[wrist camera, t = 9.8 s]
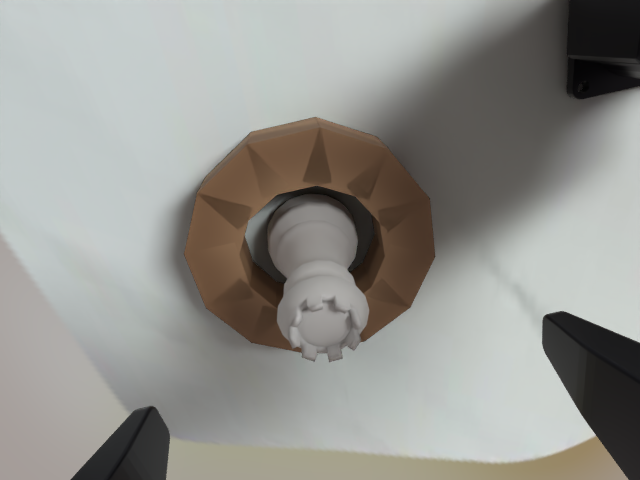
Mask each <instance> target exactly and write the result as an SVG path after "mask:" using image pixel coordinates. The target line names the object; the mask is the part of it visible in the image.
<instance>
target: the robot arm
mask: <svg viewBox="0 0 640 480" xmlns="http://www.w3.org/2000/svg"><path fill="white" fill-rule="evenodd" d="M567 55H568V56H569V60H568V77H567V93H568V95H569V96H570V97H572V98H576V99H585V98H589V97H594V96H598V95H602V94H607V93H611V92H615V91H620V90H624V89H628V88H633V87H637V86H640V0H570V5H569V23H568V41H567ZM582 82H583V88H582V90H581V91H579V92H578V87H579V85H580V83H582ZM542 345H543V349H544V351H545V353H546V355H547V357H548V359H549V360H550V362H551V364H552V366H553V367H554V369H555V371H556V372H557V374H558V376H559V378H560V379H561V381H562V383H563V384H564V386H565V388H566V390H567V391H568V393H569V395H570V396H571V398H572V400H573V401H574V403H575V405H576V407H577V408H578V410H579V411H580V413H581V415H582V416H583V418H584V419H585V420H586V422H587V423H588V425H589V426H590V427H591V429H592V430H593V432H594V433H595V434H596V436H597V437H598V438H599V440H600V441H601V442H602V444H603V445H604V447H605V448H606V449H607V451H608V452H609V453H610V455H611V456H612V457H613V459H614V460H615V461H616V463H617V464H618V466H619V467H620V468H621V470H622V471H623V472H624V474H625V475H626V477H627V478H628V479H629V480H640V343H639V342H637V341H634V340H632V339H630V338H627V337H625V336H622V335H620V334H618V333H615V332H613V331H610V330H608V329H606V328H603V327H601V326H598V325H596V324H594V323H591V322H589V321H586V320H584V319H582V318H579V317H577V316H574V315H572V314H570V313H567V312H564V311H559V312H555V313H550V314H547V315H545V316H544V317H543V325H542ZM169 441H170V434H169V430H168V428H167V426H166V424H165V422H164V421H163V419H162V417H161V416H160V414H159V412H158V410H157V409H156V408H155V407H153V406H148V407H144V408H140V409H137V410H135V411H134V412H133V413H132V414H131V415H130V416H129V417H128V418H127V419H126V420H125V421H124V422H123V423H122V424H121V425H120V427H119V428H118V429H117V430H116V431H115V432H114V433H113V434H112V435H111V436H110V437H109V438H108V440H107V441H106V442H105V443H104V444H103V445H102V446H101V447H100V448H99V449H98V450H97V452H96V453H95V454H94V455H93V456H92V457H91V458H90V459H89V460H88V461H87V462H86V464H85V465H84V466H83V467H82V468H81V469H80V470H79V471H78V472H77V473H76V474H75V476H74V477H73V478H72V479H71V480H166V473H167V463H168V453H169V443H170V442H169Z"/></svg>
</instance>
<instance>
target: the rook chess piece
mask: <svg viewBox="0 0 640 480" xmlns="http://www.w3.org/2000/svg"><path fill="white" fill-rule="evenodd" d="M267 243H268V251H269V254H270V256H271V259H272V261H273V264H274V266H275V267H276V268H277V269H278V270H279V271H280V272H281V273H282V274H283V275H284V276H285V277H286V278H287V281H286V282H285V284H284V294H283V298H282V300H281V302H280V304H279V305H278V312H277V323H278V325H279V328H280V330H281V332H282V335H283V336H284V337H285V338H286V339H288V340H289V342H290V344H291V347H292V349H294V348H296V347H299V348H301V349H302V358H305V359H308V360H311V361H313V362H315V360H316V357H317V353H328V359H329V362H332V361H335V360H339V359H342V352H341V349H342V348H344V347H345V346H348V347H349V348H350V349H352V350H355V349H356V347H357V346H358V344H359V343H360V341H361V337H360V334H361V332H362V331H363V329H364V328H365V326H366V325H367V320H368V315H369V307H368V304H367V300H366V297H365V295H364V294H363V293H362V292H361V291H360V290H359V289H358V287H357V286H356V285H355V282H354V278H353V276H352V275H351V274H350V273H349V271H348V268H349V266H350V265H351V263H352V262H353V260H354V259H355V256H356V250H357V244H358V236H357V230H356V226H355V223H354V219H353V216H352V214H351V213H350V212H349V211H348V210H347V209H346V207H345V206H344V205H343V204H342V203H341V202H339V201H337V200H335V199H333V198H331V197H329V196H327V195H319V194H304V195H301V196H298V197H295V198H292V199H289V200H288V201H287V202H285V203H284V204H283V205H282V206H281V207H279V208H278V209H277V210H276V211H275V213H274V215H273V217H272V218H271V220H270V222H269V224H268V232H267Z"/></svg>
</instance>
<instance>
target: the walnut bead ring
mask: <svg viewBox="0 0 640 480" xmlns="http://www.w3.org/2000/svg"><path fill="white" fill-rule="evenodd" d="M313 186H321V187H324V188H328V189H331V190H335V191H338V192H342V193H345V194H349V195H352V196H355V197H356V198H357V199H358V200H359V201H360V202H361V203H362V204H363V205H364V206H365V207H366V209H367V210H368V211H369V212H370V213H371V215H372V221H373V227H374V233H375V235H374V237H373V239H372V242H371V244H370V247H369V249H368V251H367V254H366V256H365V259H364V261H363V263H362V264H360V265H359V266H358V267H357V268H355V269H354V270H353V271H352V272H350V274H351V275H352V276H353V278H354V282H355V285H356V286H357V287H358V289H359V290H360V291H361V292H362V293H363V294H364V295H365V297H366V300H367V304H368V307H369V315H368V320H367V325H366V326H365V328H364V329H363V331H362V332H361V334H360V337H361V341H360V342H364V341H366V340H367V339H368V338H370V337H371V336H372V335H374V334H375V333H376V332H378V331H379V330H380V329H382V328H383V327H384V326H386V325H387V324H389V323H390V322H391V321H393V320H394V319H395V318H397V317H398V316H399V315H401V314H402V313H403V312H405V311H406V310H407V309H409V308H410V307H411V305H412V303H413V301H414V299H415V297H416V295H417V293H418V291H419V289H420V287H421V285H422V282H423V280H424V278H425V276H426V274H427V272H428V270H429V268H430V266H431V264H432V262H433V260H434V258H435V249H434V238H433V228H432V218H431V207H430V198H429V197H428V196H427V195H426V194H425V192H424V191H423V190H422V189H421V188H420V186H419V185H418V184H417V183H416V182H415V180H414V179H413V178H412V177H411V176H410V174H409V173H408V172H407V171H406V169H405V168H404V167H403V166H402V165H401V163H400V162H399V161H398V160H397V159H396V157H395V156H394V155H393V154H392V153H391V151H390V150H389V149H388V148H387V147H386V146H385V144H384V143H383V142H382V141H381V140H380V139H379V138H378V137H376V136H373V135H370V134H367V133H364V132H360V131H357V130H354V129H351V128H348V127H345V126H342V125H339V124H336V123H333V122H329V121H326V120H323V119H320V118H317V117H314V118H309V119H305V120H301V121H297V122H292V123H288V124H284V125H279V126H275V127H271V128H266V129H262V130H258V131H253V132H251V133H250V134H249V135H248V136H247V137H246V138H245V139H244V140H243V141H242V142H241V143H240V144H239V145H238V146H236V147H235V148H234V149H233V150H232V151H231V152H230V153H229V154H228V155H227V156H226V157H225V158H224V159H223V160H222V161H221V162H220V163H219V164H218V165H217V166H216V167H215V168H214V169H213V170H212V171H211V172H210V173H209V174H208V175H207V176H206V177H205V179H204V181H203V183H202V185H201V187H200V188H199V190H198V192H197V196H196V200H195V205H194V210H193V215H192V219H191V224H190V229H189V233H188V238H187V243H186V248H185V252H184V255H185V258H186V260H187V263H188V265H189V268H190V270H191V273H192V275H193V277H194V280H195V282H196V285H197V287H198V290H199V292H200V294H201V297H202V299H203V302H204V304H205V307H206V308H207V309H208V310H209V311H211V312H212V313H213V314H215V315H216V316H217V317H218V318H220V319H221V320H222V321H224V322H225V323H226V324H228V325H229V326H230V327H232V328H233V329H234V330H236V331H237V332H238V333H240V334H241V335H242V336H244V337H245V338H246V339H247V340H249V341H250V342H251V343H256V344H261V345H266V346H271V347H276V348H281V349H286V350H291V351H296V352H301V353H302V349H301V348H299V347H296V348H294V349H292V347H291V344H290V342H289V340H288V339H286V338H285V337H284V336H283V335H282V332H281V330H280V328H279V325H278V323H277V312H278V305H279V304H280V302H281V300H282V298H283V294H284V283H280V282H276V281H275V280H274V279H273V278H272V277H270V276H269V275H268V274H267V273H266V272H265V271H264V270H262V269H261V268H260V267H259V266H258V265H257V264H255V263H254V262H253V260H252V256H251V253H250V250H249V247H248V244H247V241H246V238H245V231H246V228H247V224H248V221H249V220H250V219H251V218H252V217H253V216H254V215H255V214H256V213H257V212H259V211H260V210H261V209H262V208H263V207H264V206H265V205H266V204H267V203H268V202H270V201H271V200H272V199H273V198H274V197H275V196H276V195H278V194H282V193H286V192H291V191H295V190H299V189H304V188H308V187H313Z"/></svg>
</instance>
